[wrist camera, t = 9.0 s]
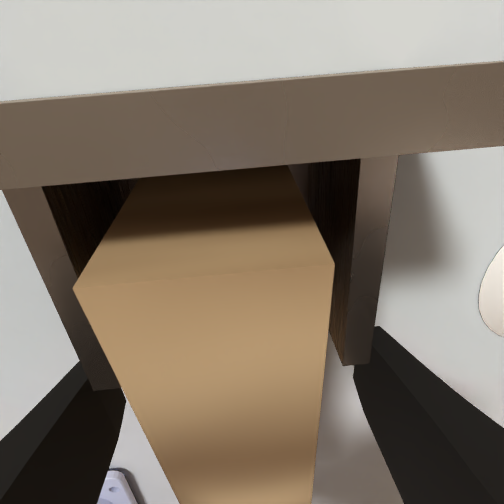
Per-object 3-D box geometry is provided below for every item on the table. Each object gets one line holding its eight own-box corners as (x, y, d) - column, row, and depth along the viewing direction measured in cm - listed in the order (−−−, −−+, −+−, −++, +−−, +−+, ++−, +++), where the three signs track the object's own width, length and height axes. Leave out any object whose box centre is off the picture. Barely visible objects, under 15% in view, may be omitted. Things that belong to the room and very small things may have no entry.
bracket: (374, 260, 11) (505, 421, 6) (86, 287, 11) (-48, 478, 6) (398, 68, 8) (683, 48, 3) (14, 100, 8) (-374, 135, 3)
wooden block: (146, 166, 8) (71, 288, 4) (282, 154, 8) (334, 263, 4) (204, 392, 14) (195, 536, 10) (285, 384, 14) (308, 524, 10)
